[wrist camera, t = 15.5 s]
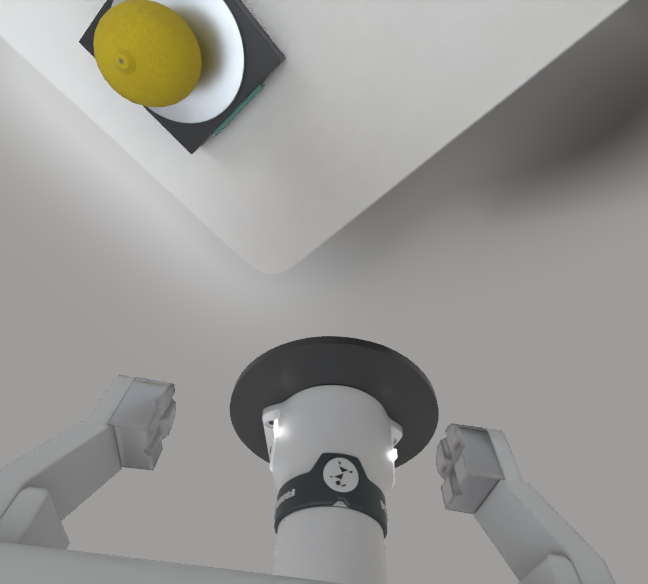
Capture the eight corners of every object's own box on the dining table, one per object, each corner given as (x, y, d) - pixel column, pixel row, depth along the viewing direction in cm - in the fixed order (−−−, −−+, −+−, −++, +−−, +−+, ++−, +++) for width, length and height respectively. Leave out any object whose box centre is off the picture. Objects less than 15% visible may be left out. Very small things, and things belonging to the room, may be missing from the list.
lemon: (231, 55, 27) (196, 66, 21) (183, 113, 29) (136, 140, 23) (164, -21, 25) (101, -36, 18) (117, 48, 27) (45, 56, 21)
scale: (288, 61, 30) (284, 64, 28) (203, 149, 34) (194, 157, 32) (180, -78, 26) (165, -87, 24) (97, 40, 30) (78, 41, 28)
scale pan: (273, 60, 28) (272, 60, 27) (190, 147, 31) (188, 149, 31) (166, -74, 24) (162, -76, 24) (86, 42, 28) (81, 43, 27)
